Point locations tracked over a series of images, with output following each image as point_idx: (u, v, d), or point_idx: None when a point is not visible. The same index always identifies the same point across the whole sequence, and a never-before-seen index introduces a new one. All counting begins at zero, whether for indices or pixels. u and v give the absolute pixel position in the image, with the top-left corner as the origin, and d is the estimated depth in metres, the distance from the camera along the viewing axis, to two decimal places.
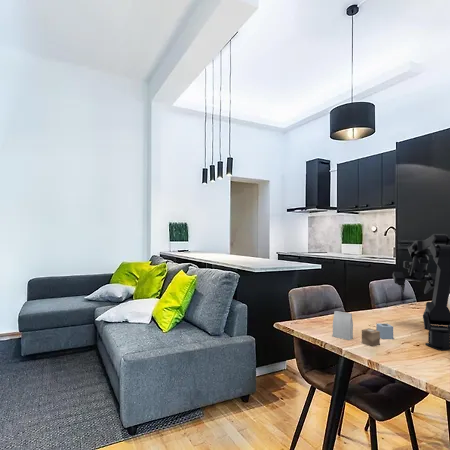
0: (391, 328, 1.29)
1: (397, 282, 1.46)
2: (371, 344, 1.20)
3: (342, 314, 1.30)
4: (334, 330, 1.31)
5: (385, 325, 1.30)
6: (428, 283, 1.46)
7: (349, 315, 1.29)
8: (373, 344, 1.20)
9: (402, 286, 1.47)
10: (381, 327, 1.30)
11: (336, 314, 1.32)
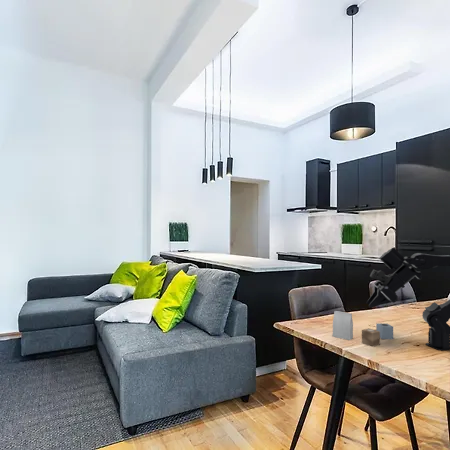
0: (391, 328, 1.29)
1: None
2: (371, 344, 1.20)
3: (342, 314, 1.30)
4: (334, 330, 1.31)
5: (385, 325, 1.30)
6: None
7: (349, 315, 1.29)
8: (373, 344, 1.20)
9: None
10: (381, 327, 1.30)
11: (336, 314, 1.32)
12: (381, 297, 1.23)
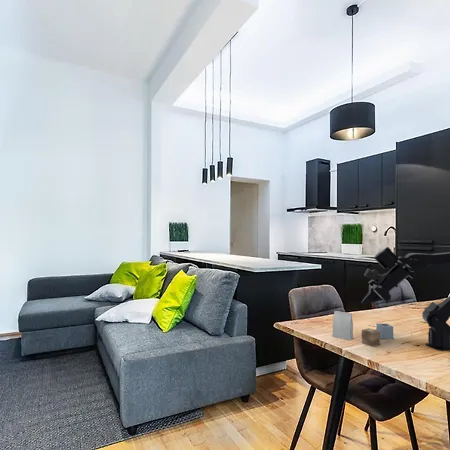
0: (391, 328, 1.29)
1: (388, 300, 1.18)
2: (371, 344, 1.20)
3: (342, 314, 1.30)
4: (334, 330, 1.31)
5: (385, 325, 1.30)
6: None
7: (349, 315, 1.29)
8: (373, 344, 1.20)
9: None
10: (381, 327, 1.30)
11: (336, 314, 1.32)
12: (373, 295, 1.26)
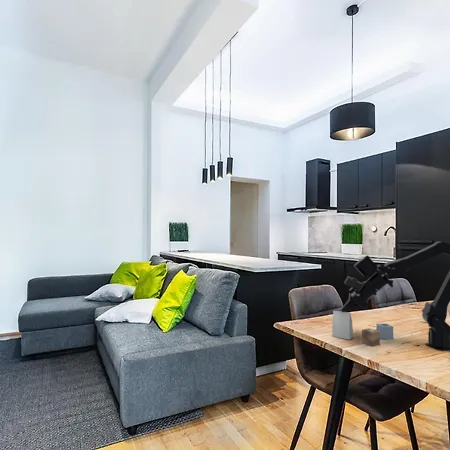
0: (391, 328, 1.29)
1: (366, 308, 1.20)
2: (371, 344, 1.20)
3: (341, 313, 1.30)
4: (334, 330, 1.31)
5: (385, 325, 1.30)
6: None
7: (348, 314, 1.29)
8: (373, 344, 1.20)
9: None
10: (381, 327, 1.30)
11: (335, 314, 1.32)
12: (353, 302, 1.28)
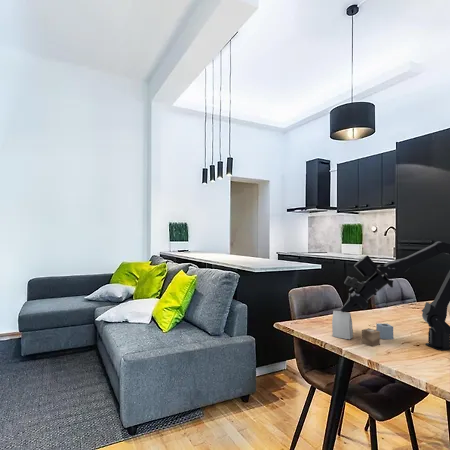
0: (391, 328, 1.29)
1: (365, 308, 1.20)
2: (371, 344, 1.20)
3: (341, 313, 1.30)
4: (334, 330, 1.31)
5: (385, 325, 1.30)
6: None
7: (348, 314, 1.29)
8: (373, 344, 1.20)
9: None
10: (381, 327, 1.30)
11: (335, 314, 1.32)
12: (353, 302, 1.28)
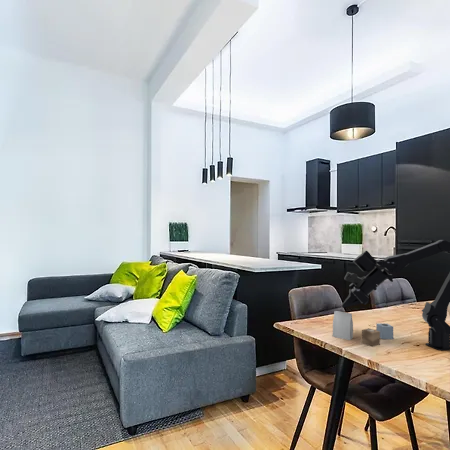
0: (391, 328, 1.29)
1: None
2: (371, 344, 1.20)
3: (342, 314, 1.30)
4: (334, 330, 1.31)
5: (385, 325, 1.30)
6: None
7: (349, 315, 1.29)
8: (373, 344, 1.20)
9: None
10: (381, 327, 1.30)
11: (336, 314, 1.32)
12: (353, 298, 1.28)
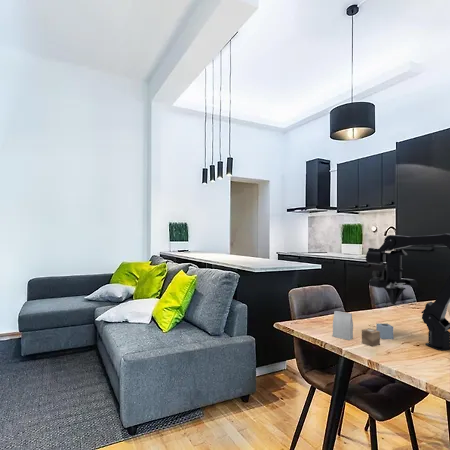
0: (391, 328, 1.29)
1: (380, 285, 1.28)
2: (371, 344, 1.20)
3: (342, 314, 1.30)
4: (334, 330, 1.31)
5: (385, 325, 1.30)
6: None
7: (349, 315, 1.29)
8: (373, 344, 1.20)
9: (394, 291, 1.30)
10: (381, 327, 1.30)
11: (336, 314, 1.32)
12: (390, 290, 1.32)
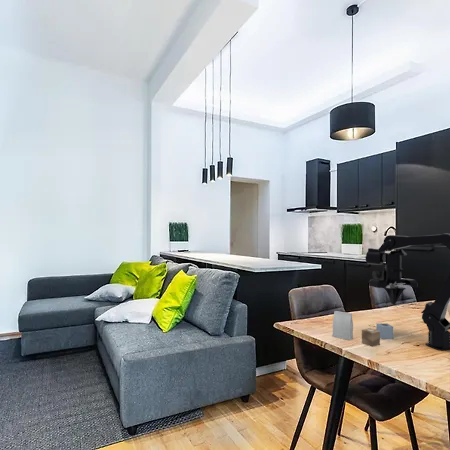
0: (391, 328, 1.29)
1: (380, 285, 1.28)
2: (371, 344, 1.20)
3: (342, 314, 1.30)
4: (334, 330, 1.31)
5: (385, 325, 1.30)
6: None
7: (349, 315, 1.29)
8: (373, 344, 1.20)
9: (394, 292, 1.30)
10: (381, 327, 1.30)
11: (336, 314, 1.32)
12: (390, 290, 1.32)
